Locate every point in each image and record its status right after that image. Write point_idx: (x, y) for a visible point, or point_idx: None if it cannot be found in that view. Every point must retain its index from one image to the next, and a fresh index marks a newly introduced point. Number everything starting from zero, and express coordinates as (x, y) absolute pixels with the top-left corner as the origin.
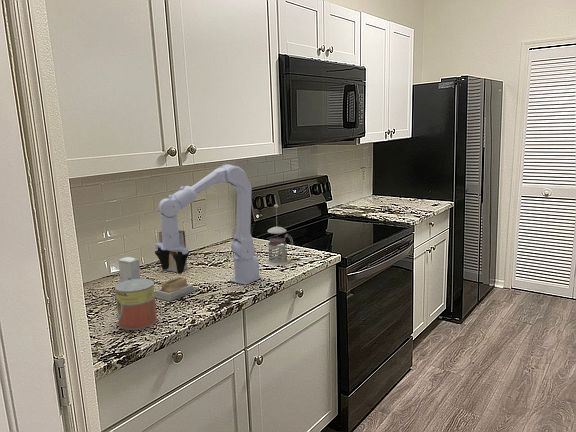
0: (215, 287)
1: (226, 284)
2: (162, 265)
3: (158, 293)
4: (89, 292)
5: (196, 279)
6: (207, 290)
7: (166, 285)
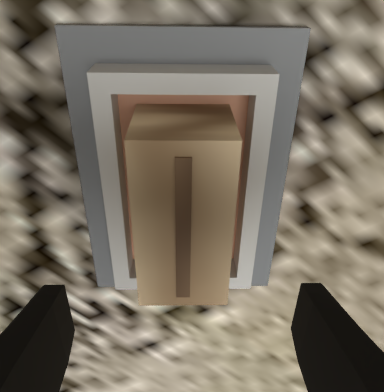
0: None
1: None
2: (334, 321)
3: (233, 69)
4: None
5: (236, 357)
6: None
7: (165, 135)
